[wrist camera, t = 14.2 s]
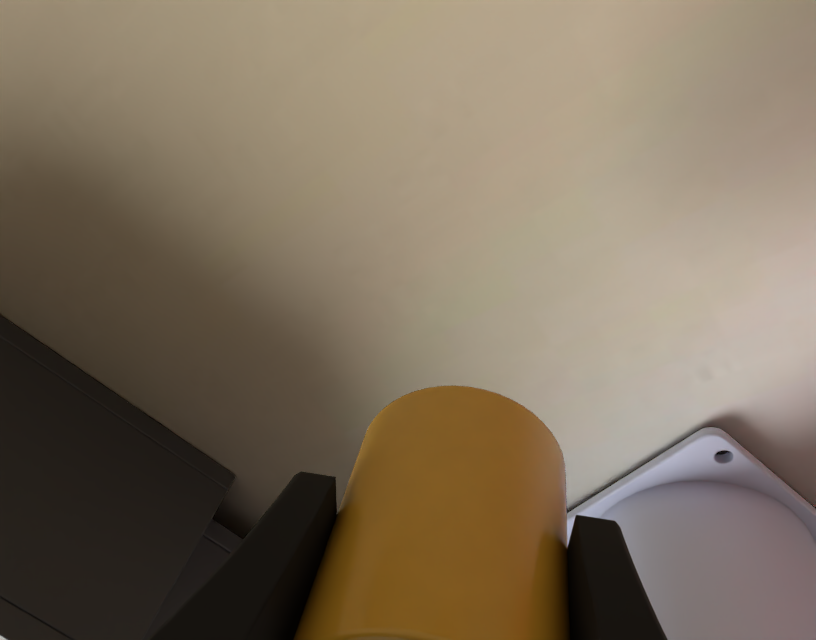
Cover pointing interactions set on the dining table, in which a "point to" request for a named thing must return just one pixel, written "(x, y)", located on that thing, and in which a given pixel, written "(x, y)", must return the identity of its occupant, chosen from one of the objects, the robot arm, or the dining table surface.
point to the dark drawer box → (89, 502)
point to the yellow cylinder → (447, 527)
